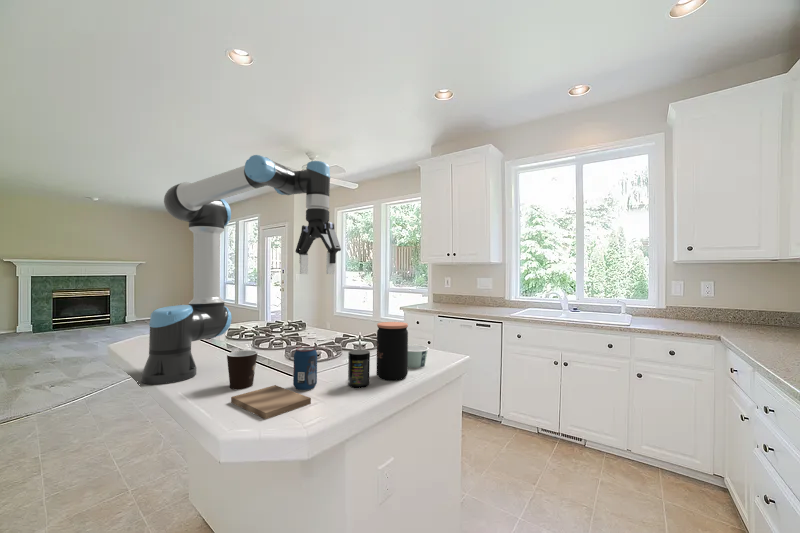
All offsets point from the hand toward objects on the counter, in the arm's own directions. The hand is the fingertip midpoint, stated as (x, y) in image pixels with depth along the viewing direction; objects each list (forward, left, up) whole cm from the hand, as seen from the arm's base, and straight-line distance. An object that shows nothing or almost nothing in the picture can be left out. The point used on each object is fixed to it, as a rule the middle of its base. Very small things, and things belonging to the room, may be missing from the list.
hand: (316, 274), depth 111 cm
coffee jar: (+16, +20, -35) cm, 43 cm away
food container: (+12, +38, -35) cm, 53 cm away
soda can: (+3, -6, -35) cm, 36 cm away
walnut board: (+6, -20, -35) cm, 40 cm away
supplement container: (+14, +6, -35) cm, 38 cm away
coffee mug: (-14, -16, -35) cm, 41 cm away
